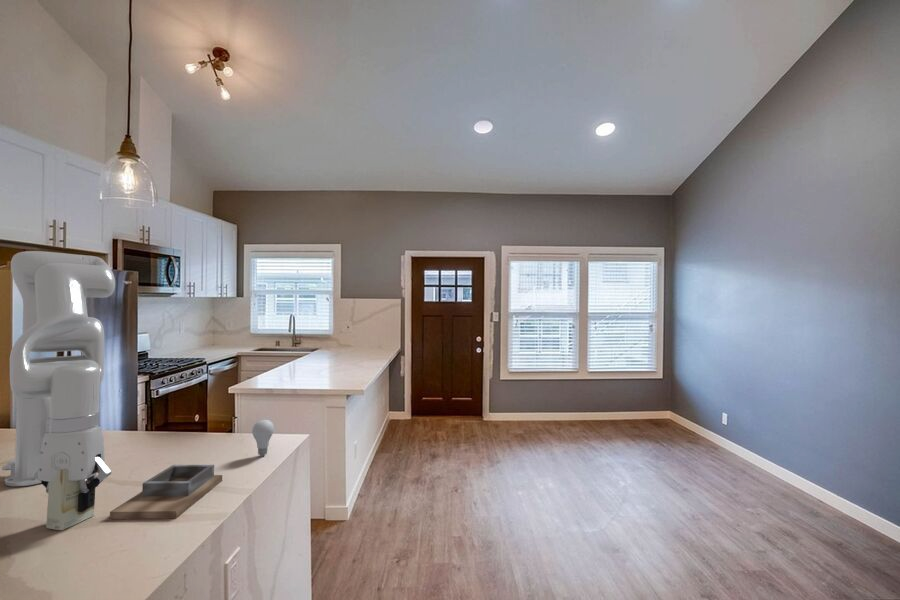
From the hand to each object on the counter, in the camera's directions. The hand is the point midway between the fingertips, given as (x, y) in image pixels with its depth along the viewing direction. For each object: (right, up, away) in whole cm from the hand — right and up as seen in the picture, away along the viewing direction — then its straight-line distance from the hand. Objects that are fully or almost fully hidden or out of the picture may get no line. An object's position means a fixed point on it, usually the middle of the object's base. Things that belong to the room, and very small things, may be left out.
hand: (72, 508), depth 81 cm
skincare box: (0, -3, 0) cm, 3 cm away
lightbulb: (+22, -4, +37) cm, 43 cm away
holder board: (+14, -3, +11) cm, 17 cm away
